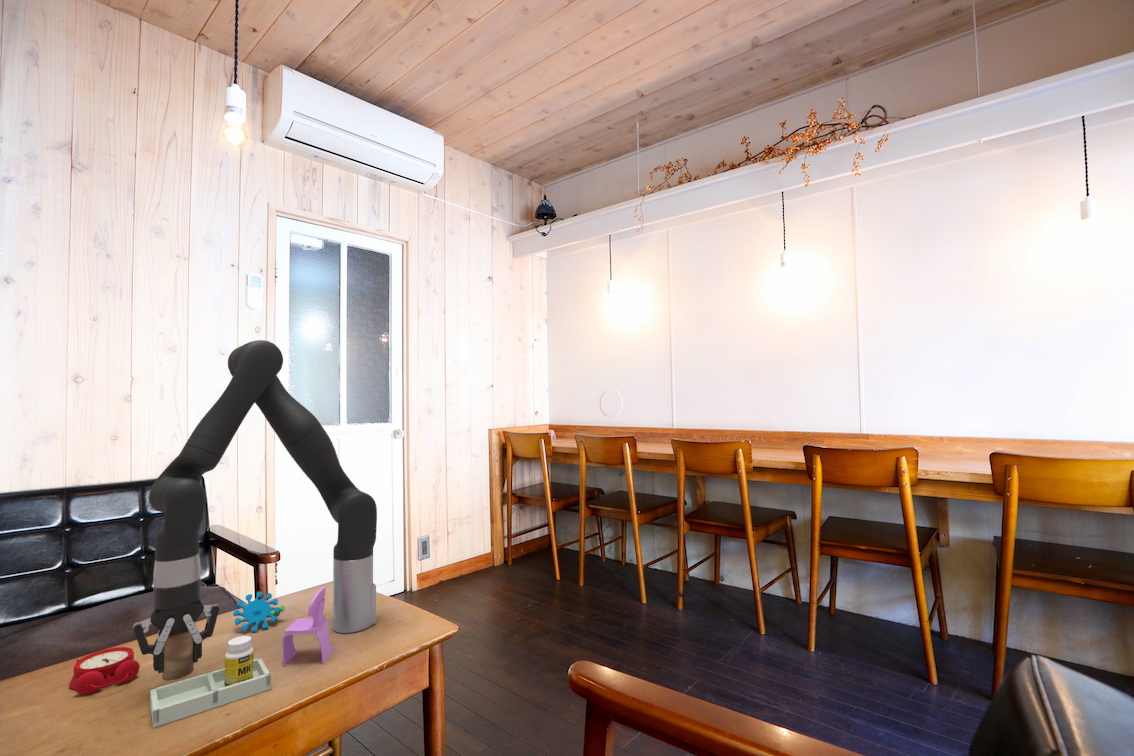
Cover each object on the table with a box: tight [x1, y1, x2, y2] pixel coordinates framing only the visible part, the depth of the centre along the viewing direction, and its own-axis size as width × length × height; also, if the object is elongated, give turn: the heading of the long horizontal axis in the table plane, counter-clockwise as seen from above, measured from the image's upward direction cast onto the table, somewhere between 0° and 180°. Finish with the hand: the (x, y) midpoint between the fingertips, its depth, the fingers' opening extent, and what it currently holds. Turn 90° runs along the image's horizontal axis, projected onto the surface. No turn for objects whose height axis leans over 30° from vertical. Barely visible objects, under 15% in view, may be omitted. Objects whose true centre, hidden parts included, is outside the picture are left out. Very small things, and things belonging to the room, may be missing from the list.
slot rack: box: [149, 657, 272, 729], centre depth 100 cm, size 18×9×3 cm, turn 131°
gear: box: [232, 591, 286, 633], centre depth 132 cm, size 11×6×10 cm
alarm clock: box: [68, 646, 140, 696], centre depth 106 cm, size 10×6×15 cm
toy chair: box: [281, 585, 335, 667], centre depth 115 cm, size 8×9×15 cm
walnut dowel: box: [161, 630, 195, 682], centre depth 104 cm, size 5×5×8 cm
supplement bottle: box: [224, 635, 254, 687], centre depth 103 cm, size 5×5×8 cm
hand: (177, 665), depth 104 cm, fingers closed on walnut dowel, 5 cm apart
